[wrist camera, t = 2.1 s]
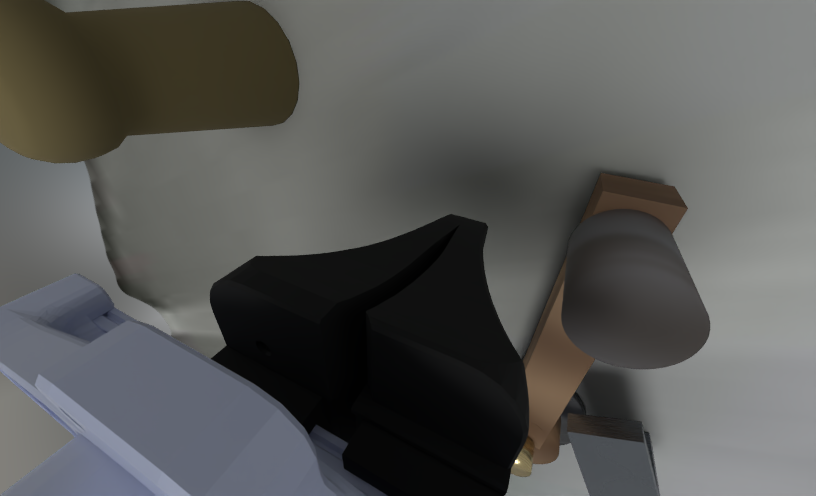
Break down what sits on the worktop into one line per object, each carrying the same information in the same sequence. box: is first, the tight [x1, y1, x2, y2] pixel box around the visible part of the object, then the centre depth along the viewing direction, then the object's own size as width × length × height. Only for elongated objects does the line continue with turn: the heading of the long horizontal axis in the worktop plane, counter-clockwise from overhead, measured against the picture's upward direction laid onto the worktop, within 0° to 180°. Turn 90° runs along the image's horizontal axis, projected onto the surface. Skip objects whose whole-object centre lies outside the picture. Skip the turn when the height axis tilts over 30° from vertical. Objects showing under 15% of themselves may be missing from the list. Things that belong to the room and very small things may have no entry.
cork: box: [0, 0, 299, 163], centre depth 14 cm, size 6×6×11 cm
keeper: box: [567, 413, 660, 496], centre depth 17 cm, size 3×6×4 cm, turn 26°
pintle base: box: [511, 392, 585, 477], centre depth 20 cm, size 7×7×4 cm
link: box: [523, 173, 710, 464], centre depth 15 cm, size 18×4×6 cm, turn 176°
